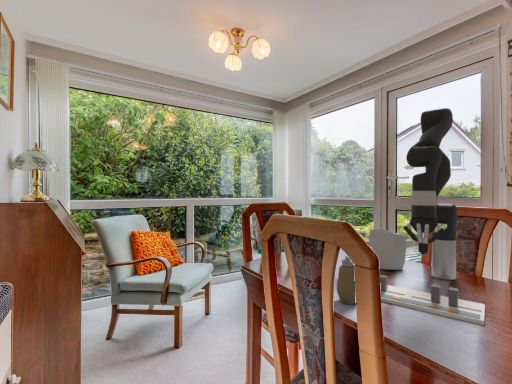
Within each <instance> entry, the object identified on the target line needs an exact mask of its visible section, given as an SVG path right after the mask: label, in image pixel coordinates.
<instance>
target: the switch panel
mask: <svg viewBox="0 0 512 384" xmlns="http://www.w3.org/2000/svg"><path fill="white" fill-rule="evenodd" d="M381 299H382V301H381V302H384V303H389V304H391V305H392V304H393V305H397V306H401V307H405V308H409V309H415V310H418V311H422V312H427V313H430V314H434V315H438V316H439V315H440V316H444V317H448V318H453V319H456V320H460V321H465V322H470V323H473V324H477V325H482V326H485V318H486V316H485V315H486V304H484V303H480V302H476V301H470V300H465V299H460V298H458V306H452V305H448V303H449V296H445V295H441V300H440V302H439V303H438V302H433V301H431V292H430V293H429V292H426V291H419V290H416V289H410V288H405V287H401V286H395V285H391V284H388V289H387V290H386V291H382V290H381Z"/></svg>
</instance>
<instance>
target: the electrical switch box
mask: <svg viewBox="0 0 512 384" xmlns="http://www.w3.org/2000/svg"><path fill="white" fill-rule="evenodd" d="M368 243H369V245H370V246H371V247H372V249H373V250H374V251H375V253H376V254H377V255H378V257H379V260H380V269H379V270H393V271H396V270H397V271H402V270H403V269H404V266H405V262H406V254H407V253H406V252H407V243H408V241H407V235H406V234H403V233H396V232H392V231H389V230H386V229H384V228H375V229H374V228H373V229H372V228H371V229H370V230H369V234H368Z"/></svg>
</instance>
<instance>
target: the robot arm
mask: <svg viewBox="0 0 512 384" xmlns="http://www.w3.org/2000/svg"><path fill="white" fill-rule="evenodd" d="M453 117H454V116H453V112H452V109H450V108H449V107H442V108H435V109H431V110H426V111H423V112H422V113H421V115H420V127H421V136H420V138H419V140H418V141H417V142H416V143H414V144H413V145H412V146H411V147H410V148H409V150H408V151H407V154H406V162H407V164H408V165H409V166H410V167H412V168H425V171H424V172H421V173H417V174H414V175H413V176H412V182H411V185H412V186H411V192H412V193H411V198H410V199H411V200H410V203H411V204H410V205H411V207H410V208H411V210H410V215H411V216H410V217H411V218H410V220H409V222H408V223H407V224H406V225H404V226H403V227H402V228H403V230H404V231H405V232H406V233H407V235H408V236H409V237H410V238H411V240H412V241H414V242H416V243H417V244H418V245H417V246H418V252H419V253H420V255H426V254H428V252H429V243H430V244H431V277H433V278H436V279H440V280H446V281H455V280H456V279H457V221H458V207H457V206H456V204H454V203H438V202H437V201H438V197H439V195H440V194H441V191H442V190H443V189H444V188H445V186H446V184H447V183H448V182H449V181H450V178H451V176H452V172H451V171H452V169H451V160H450V159H449V157H448V155H447V154H446V153H445V152H444V151H443V150H442V149H441V148H440V146H441V142H442V140H443V139H444V137H445V136H446V135H447V134H448V133H449V131H450V130H451V128H452V127H453V126H452V125H453V121H454V118H453ZM439 224H440V225H446V227H445V228H444V227H442V226H440V225H439ZM412 229H413V230H414V231H415V232H416V234H417V236H416V234H415V233H414V232H413V231H412ZM435 229H436V230H435ZM430 234H431V238H430Z"/></svg>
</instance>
